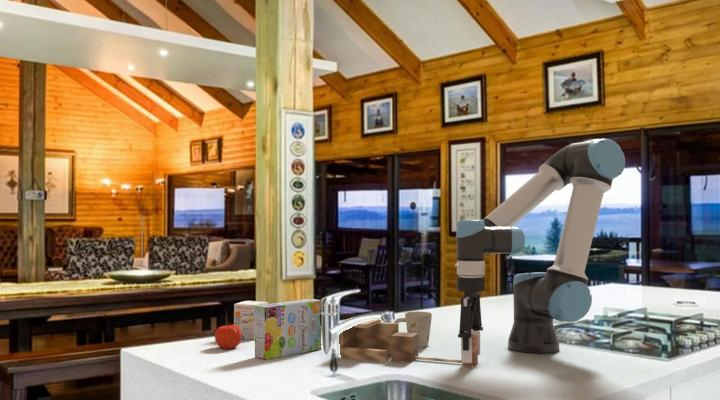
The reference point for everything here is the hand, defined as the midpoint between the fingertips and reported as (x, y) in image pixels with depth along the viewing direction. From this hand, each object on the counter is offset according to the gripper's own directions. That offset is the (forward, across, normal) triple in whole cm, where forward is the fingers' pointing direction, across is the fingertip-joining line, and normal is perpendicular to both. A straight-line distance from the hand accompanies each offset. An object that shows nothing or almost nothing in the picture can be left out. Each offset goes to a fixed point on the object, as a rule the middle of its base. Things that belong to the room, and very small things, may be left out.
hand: (471, 358), depth 174 cm
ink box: (+2, -13, -77) cm, 78 cm away
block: (+2, 0, -10) cm, 10 cm away
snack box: (+2, +5, -53) cm, 53 cm away
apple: (+2, +5, -74) cm, 74 cm away
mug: (+2, -20, -23) cm, 31 cm away
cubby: (+2, 0, -29) cm, 29 cm away
